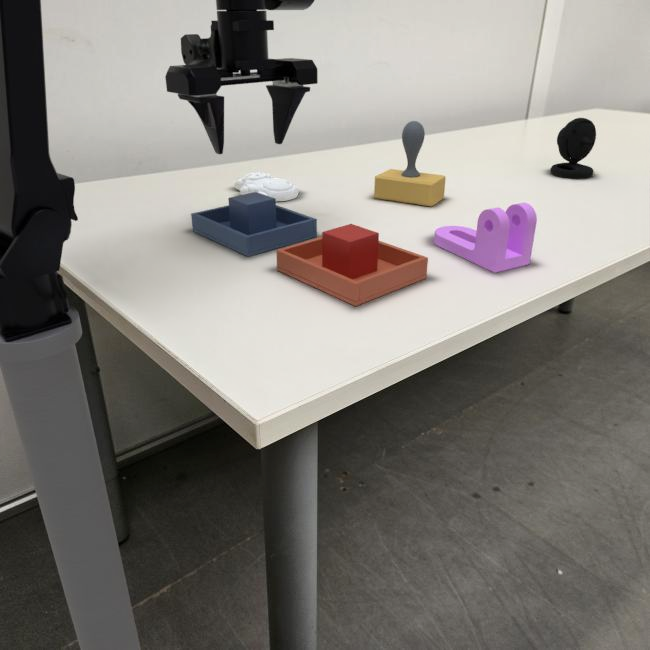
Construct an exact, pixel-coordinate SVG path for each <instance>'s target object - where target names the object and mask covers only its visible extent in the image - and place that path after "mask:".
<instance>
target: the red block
mask: <svg viewBox="0 0 650 650" xmlns="http://www.w3.org/2000/svg"><path fill="white" fill-rule="evenodd" d="M321 237H322V267H324V268H326V269H329V270H331V271H333V272H336V273H338V274H341V275H343V276H345V277H348V278H350V279H355V278H358V277H361V276H363V275H366V274H369V273H372V272H375V271H377V266H378V242H379V241H380V240H379V238H380V234H379V232H378V231H374V230H371V229H368V228H365V227H362V226H359V225H356V224H353V223H349V224H345V225H342V226H338V227H335V228H331V229H327V230H324V231H321Z"/></svg>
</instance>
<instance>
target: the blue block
mask: <svg viewBox="0 0 650 650" xmlns="http://www.w3.org/2000/svg"><path fill="white" fill-rule="evenodd" d="M227 199H228V200H227V201H228V205H229V214H230V228H232V229H234V230H236V231H239V232H241V233H244V234H246V235H252V234H255V233H259V232H263V231H267V230H271V229H274V228H277V224H276V205H277V203H276V202H277V201H276V199H275V198H272V197H269V196H266V195H263V194H260V193H257V192H253V193H249V194H244V195H241V194H239V195H234V196H231V197H228V198H227Z"/></svg>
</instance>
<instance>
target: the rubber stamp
mask: <svg viewBox="0 0 650 650" xmlns="http://www.w3.org/2000/svg"><path fill="white" fill-rule="evenodd" d="M425 133H426V132H425V128H424V126H423V124H421V122H419V121H417V120H411V121H408V122H407V123H406V124H405V125H404V126H403V130H402V133H401V141H402V145H403V146H402V147H403V149H404V152H405V156H406V160H407V165H406V168H405V170H403V169H395V168H389V169H388V170H386V171H384V172H381V173H379V174H377V175H375V176H374V190H373V193H374V195H373V198H374V199H377V200H385V201H391V202H398V203H404V204H411V205H416V206H417V205H418V206H424V207H433V206H435V205H437V204H438V203H439V202H440V201H442V200H444V199H445V190H446V175H443V174H435V173H426V172H419V170H418V169H417V167H416V162H417V158H418V156H419V153H420V152H421V149H422V147H423V144H424V141H425V135H426V134H425Z"/></svg>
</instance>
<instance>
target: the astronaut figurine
mask: <svg viewBox="0 0 650 650" xmlns="http://www.w3.org/2000/svg"><path fill="white" fill-rule="evenodd" d="M234 189H235V190H237V191H239V193H240V195H244V194H249V193H253V192H257V193H260V194H263V195H266V196H269V197H272V198H275V199H276V202H286V201H291V200H294V199H296V198H297V197H298V196H299V193H300V190H299V186H297V185H295V184H294V183H293V182H291V181H289V180H287V179H285V178H279V177H275V178H274V177H273V176H271V174H270V173H268V172H262V171H256V172H248V173H247V174H245V175H243V176H242V177H239V178H237V179H235V181H234Z"/></svg>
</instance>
